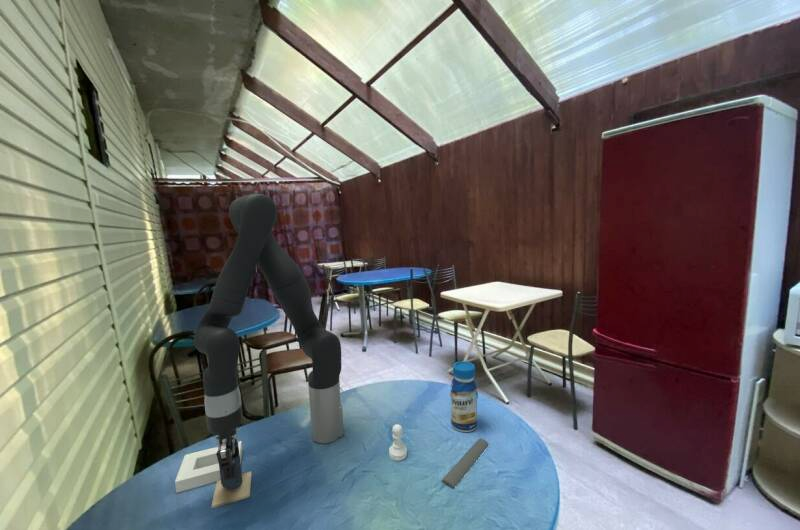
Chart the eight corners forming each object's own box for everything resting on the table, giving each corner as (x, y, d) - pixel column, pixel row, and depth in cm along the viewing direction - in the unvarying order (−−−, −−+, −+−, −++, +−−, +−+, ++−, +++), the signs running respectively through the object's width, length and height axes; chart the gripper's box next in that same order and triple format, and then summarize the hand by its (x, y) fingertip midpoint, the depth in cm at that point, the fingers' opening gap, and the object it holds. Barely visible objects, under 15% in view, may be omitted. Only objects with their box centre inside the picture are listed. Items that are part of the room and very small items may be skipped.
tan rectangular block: (251, 473, 85) (251, 471, 85) (249, 497, 78) (249, 494, 78) (217, 482, 82) (217, 480, 82) (211, 508, 75) (211, 506, 75)
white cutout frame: (242, 450, 94) (241, 440, 93) (239, 475, 84) (238, 464, 84) (186, 464, 89) (185, 454, 88) (176, 492, 80) (174, 482, 79)
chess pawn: (405, 462, 87) (404, 432, 86) (387, 460, 88) (386, 430, 87) (408, 449, 92) (407, 420, 91) (391, 447, 93) (390, 418, 92)
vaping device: (237, 490, 78) (233, 445, 76) (219, 487, 79) (214, 442, 77) (245, 481, 81) (240, 437, 79) (226, 479, 82) (221, 435, 80)
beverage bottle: (481, 421, 104) (481, 363, 101) (472, 436, 97) (472, 374, 94) (456, 413, 108) (456, 357, 106) (446, 427, 101) (445, 367, 98)
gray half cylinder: (490, 448, 93) (490, 442, 92) (454, 492, 78) (454, 485, 78) (477, 441, 96) (477, 436, 95) (439, 483, 81) (439, 476, 81)
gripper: (238, 419, 72) (245, 488, 74) (243, 389, 85) (249, 448, 87) (199, 428, 69) (208, 499, 71) (211, 395, 82) (218, 456, 85)
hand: (230, 471), depth 79 cm, fingers closed on vaping device, 3 cm apart
